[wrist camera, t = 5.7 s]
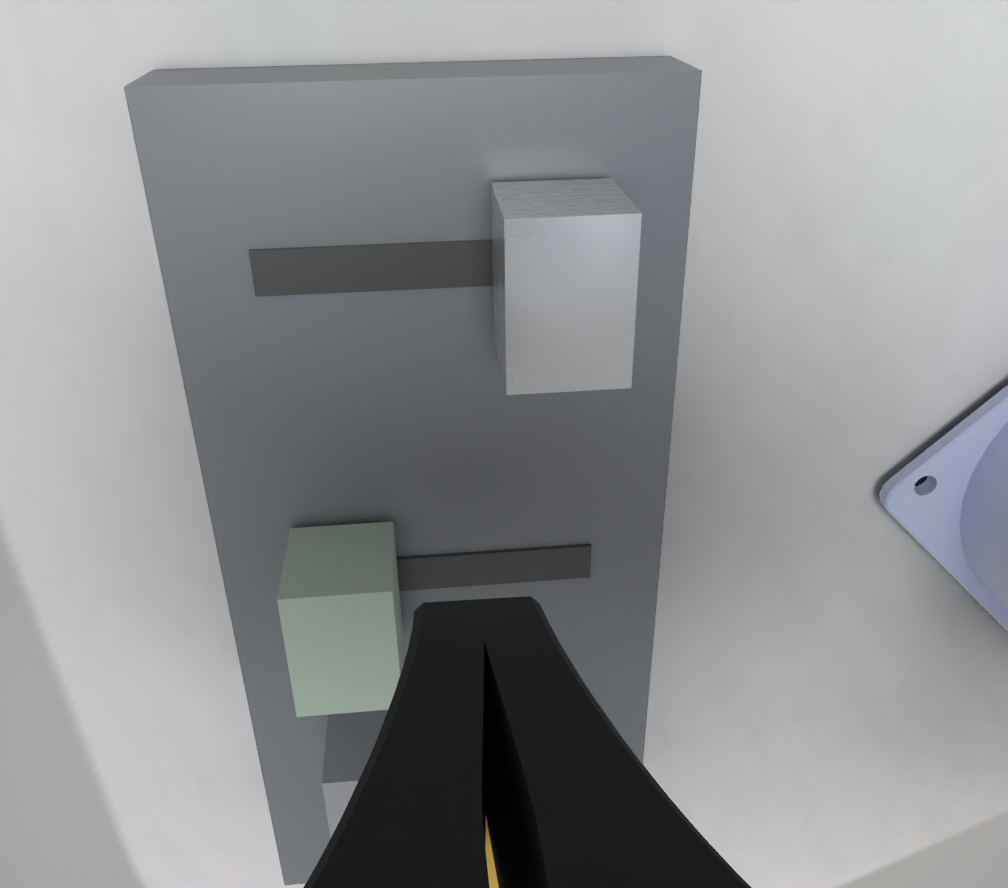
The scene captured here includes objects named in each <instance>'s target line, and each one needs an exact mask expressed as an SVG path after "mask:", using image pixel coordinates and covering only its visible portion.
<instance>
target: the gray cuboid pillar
mask: <svg viewBox="0 0 1008 888" xmlns="http://www.w3.org/2000/svg"><path fill="white" fill-rule="evenodd" d="M491 212H492V263H493V314H494V343H495V347H496V352H497V356H498V360H499V365H500V369H501V373H502V378H503V382H504V386H505V391H506V395H518V394H536V393H554V392H572V391H590V390H608V389H626V388H631V385H632V369H633V352H634V335H635V319H636V302H637V285H638V269H639V252H640V236H641V219H642V213H641V212H640V211H639V210H638V208H637V207H636V206H635V205H634V204H633V203H632V201H631V200H630V199H629V198H628V197H627V196H626V194H625V193H624V192H623V191H622V190H621V189H620V187H619V186H618V185H617V184H616V183H615V182H614V180H613V179H612V178H597V179H570V180H543V181H516V182H491Z"/></svg>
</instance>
